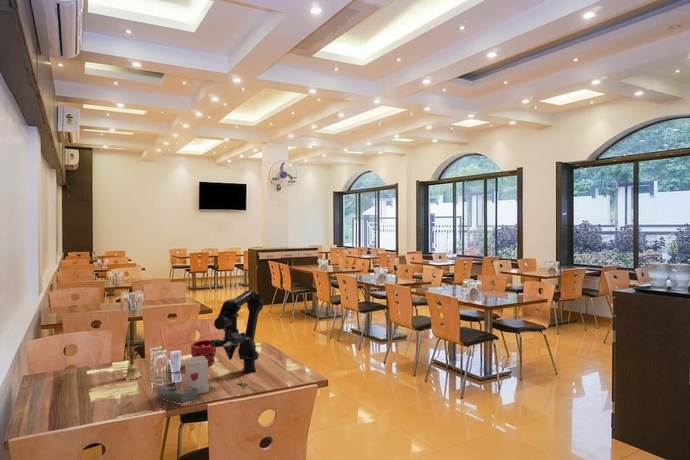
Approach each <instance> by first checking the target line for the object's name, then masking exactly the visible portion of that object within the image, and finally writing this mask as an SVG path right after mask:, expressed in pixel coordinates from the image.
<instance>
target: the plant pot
mask: <svg viewBox="0 0 690 460" xmlns="http://www.w3.org/2000/svg"><path fill="white" fill-rule="evenodd" d="M211 340H212V339H211ZM211 340H210V339H205V340H204V339H203V340H197V341H194V342H192V343H191V345H190V353H191V358H192V357H199V356H205V358H206V359H207V360H208V367H209V366H212V365H214V364H215V362H216V359H215V356H216V353H217V347H213V346H210V342H211Z"/></svg>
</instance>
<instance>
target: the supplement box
mask: <svg viewBox="0 0 690 460" xmlns="http://www.w3.org/2000/svg"><path fill="white" fill-rule="evenodd" d="M184 368H185V369H184V370H185V378H184V379H185V391H188V390H190V389H193V388H197V395H200V394H206V393H209V390H210V389H209V366H208V360H207V359H206V358H205V356H199V357H192V356H191V357H187V358H186V357H185V359H184Z"/></svg>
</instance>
